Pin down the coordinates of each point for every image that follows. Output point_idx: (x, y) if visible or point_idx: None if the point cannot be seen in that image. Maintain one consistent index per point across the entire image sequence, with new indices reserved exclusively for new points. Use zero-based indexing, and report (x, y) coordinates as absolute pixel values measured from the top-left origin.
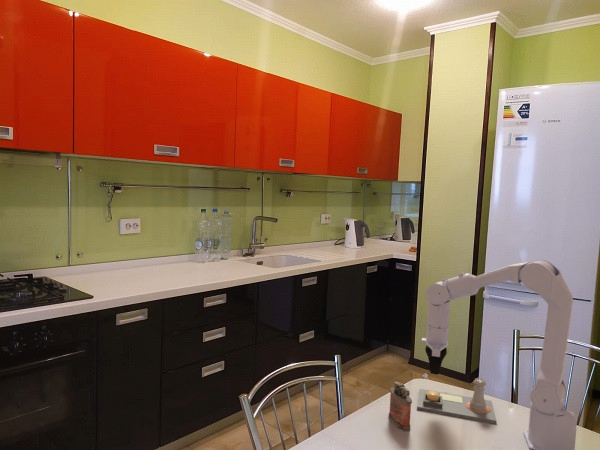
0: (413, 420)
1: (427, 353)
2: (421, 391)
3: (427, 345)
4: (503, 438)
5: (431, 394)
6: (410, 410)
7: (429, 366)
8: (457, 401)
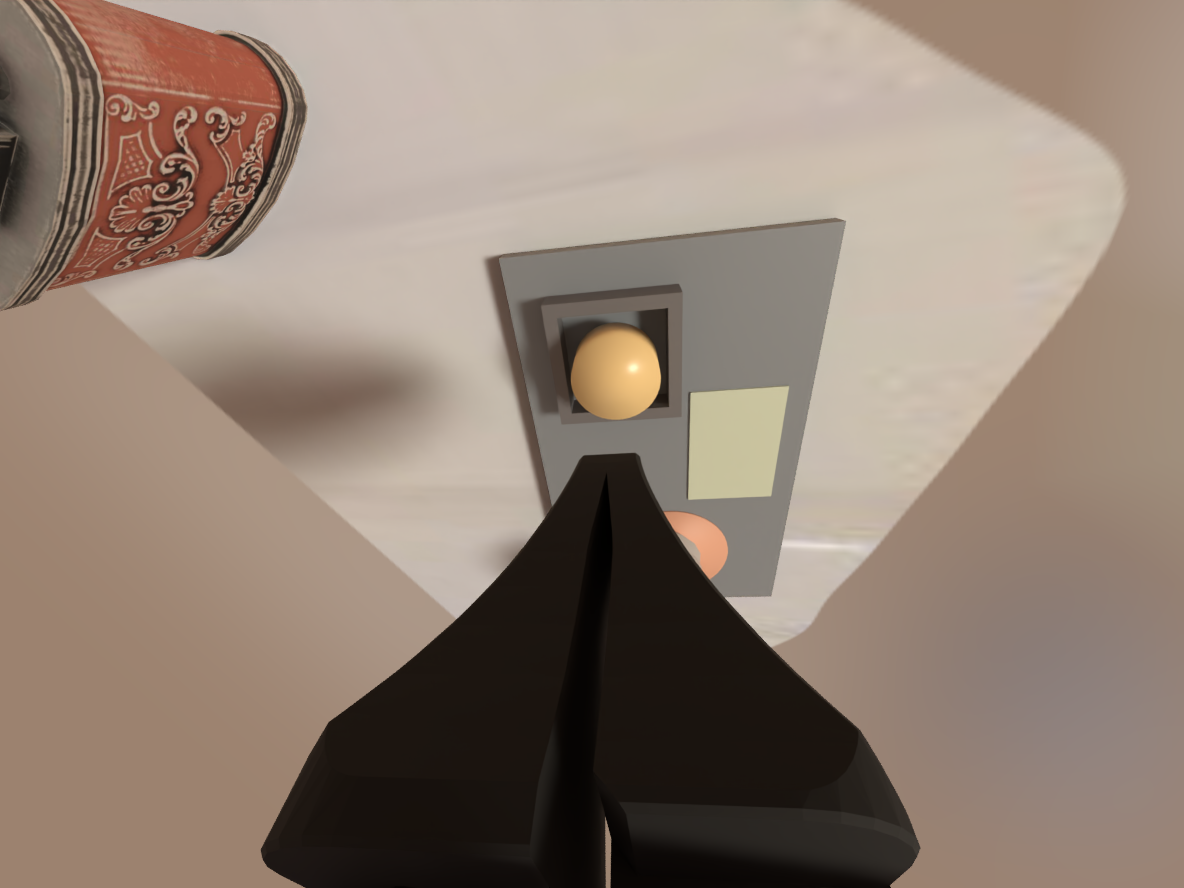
0: (340, 256)
1: (353, 723)
2: (787, 250)
3: (859, 842)
4: (473, 598)
5: (595, 371)
6: (94, 278)
7: (560, 499)
8: (697, 478)
